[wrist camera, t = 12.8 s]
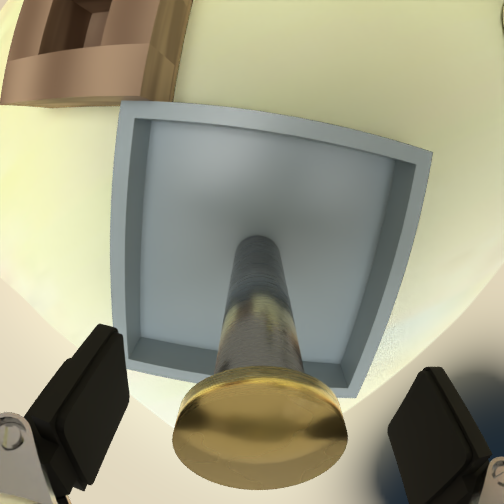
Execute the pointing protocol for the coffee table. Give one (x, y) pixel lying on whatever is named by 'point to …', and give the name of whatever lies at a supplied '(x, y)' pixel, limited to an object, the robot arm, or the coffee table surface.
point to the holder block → (95, 52)
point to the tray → (257, 232)
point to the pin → (259, 390)
